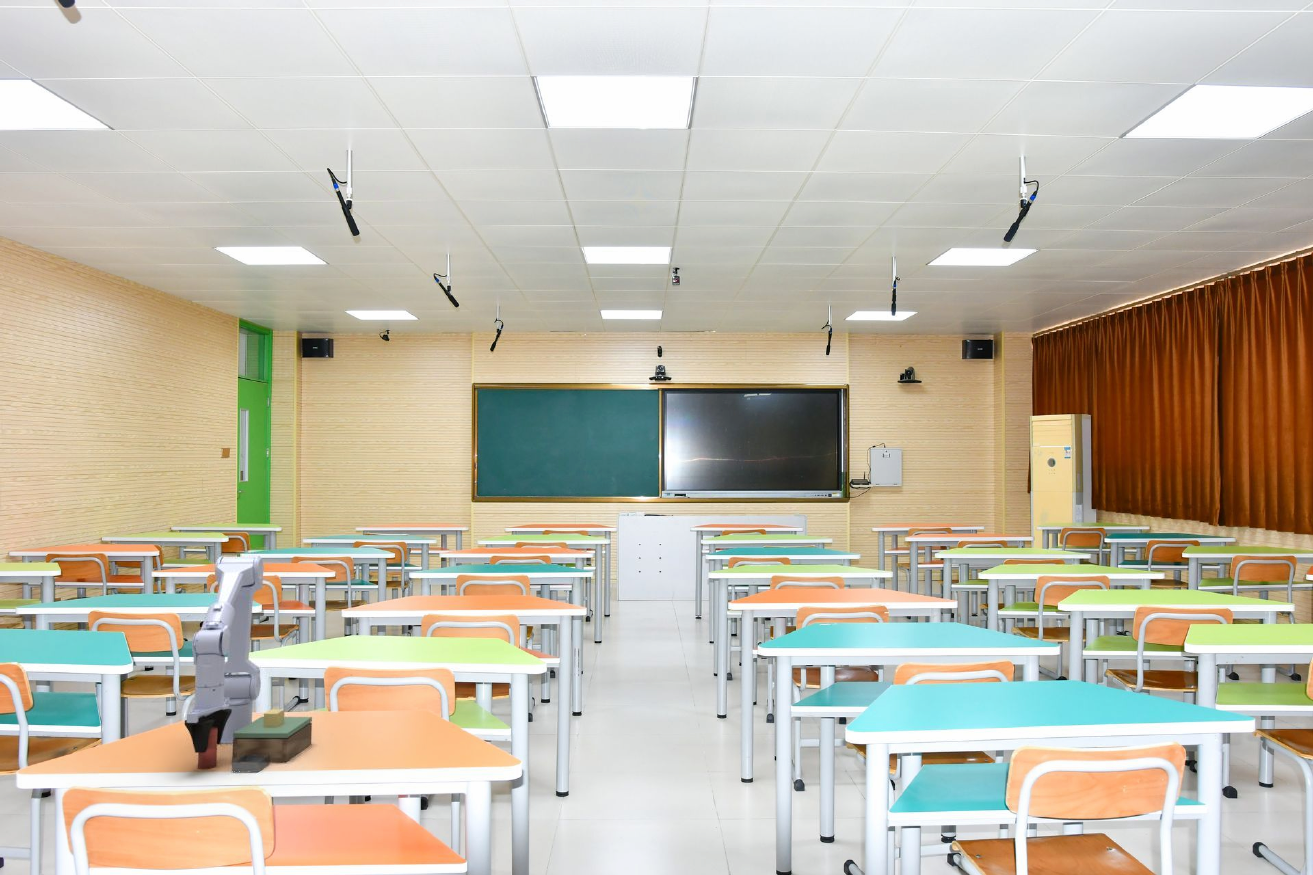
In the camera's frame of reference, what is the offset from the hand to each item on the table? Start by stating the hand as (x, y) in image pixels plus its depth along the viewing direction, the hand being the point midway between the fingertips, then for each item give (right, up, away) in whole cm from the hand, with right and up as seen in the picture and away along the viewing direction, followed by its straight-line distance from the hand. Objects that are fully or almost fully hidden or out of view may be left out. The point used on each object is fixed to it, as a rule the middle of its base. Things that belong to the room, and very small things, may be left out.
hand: (207, 747), depth 192 cm
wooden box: (+10, -5, +10) cm, 15 cm away
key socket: (+10, -4, -1) cm, 11 cm away
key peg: (0, -4, 0) cm, 4 cm away
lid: (+10, +1, +10) cm, 14 cm away
